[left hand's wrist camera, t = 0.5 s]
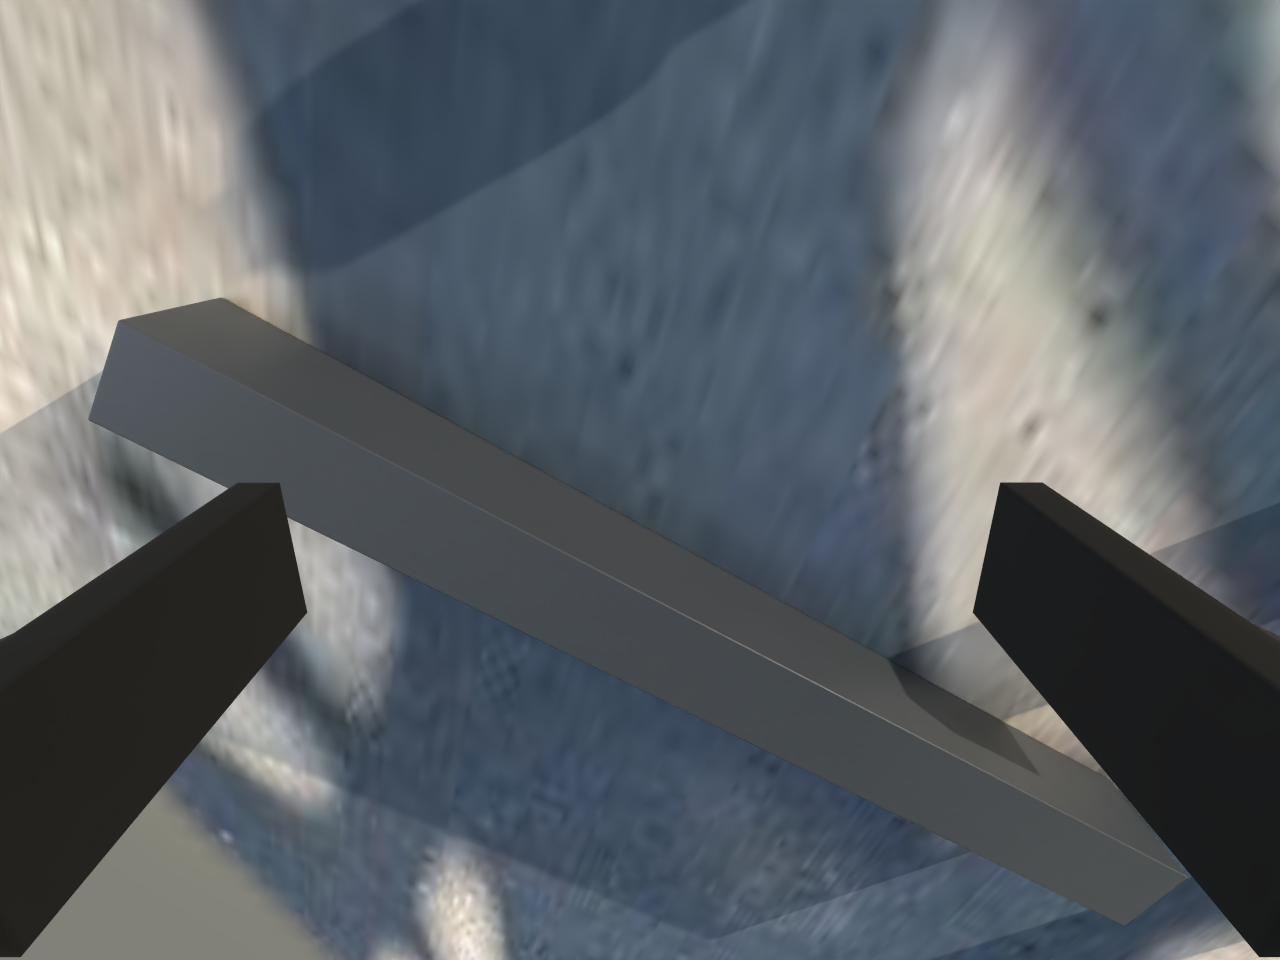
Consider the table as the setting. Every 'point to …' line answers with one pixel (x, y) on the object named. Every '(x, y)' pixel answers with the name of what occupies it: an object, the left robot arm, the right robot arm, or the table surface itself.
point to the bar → (614, 595)
